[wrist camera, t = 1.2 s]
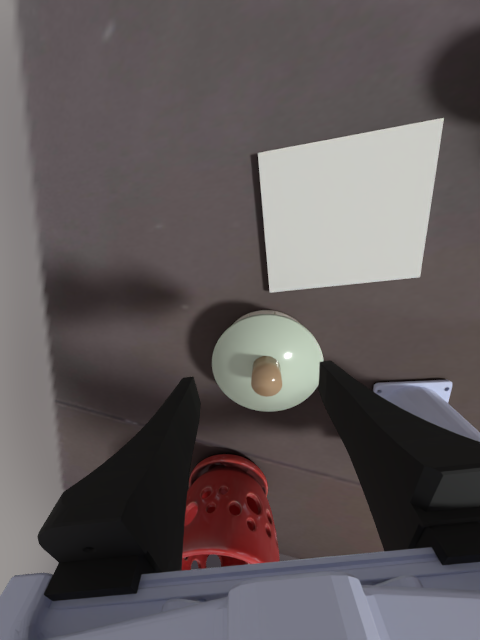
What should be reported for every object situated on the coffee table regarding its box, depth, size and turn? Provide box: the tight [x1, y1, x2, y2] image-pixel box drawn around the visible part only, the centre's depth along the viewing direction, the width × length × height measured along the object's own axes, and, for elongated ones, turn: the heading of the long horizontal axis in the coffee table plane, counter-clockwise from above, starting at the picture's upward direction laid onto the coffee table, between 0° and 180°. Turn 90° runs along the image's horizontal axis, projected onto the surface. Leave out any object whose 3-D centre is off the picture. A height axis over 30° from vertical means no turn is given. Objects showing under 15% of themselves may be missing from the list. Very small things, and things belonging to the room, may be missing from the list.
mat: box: [258, 118, 444, 292], centre depth 20 cm, size 12×14×1 cm
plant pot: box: [182, 454, 279, 571], centre depth 29 cm, size 13×13×12 cm
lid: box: [212, 314, 323, 412], centre depth 22 cm, size 11×11×3 cm
